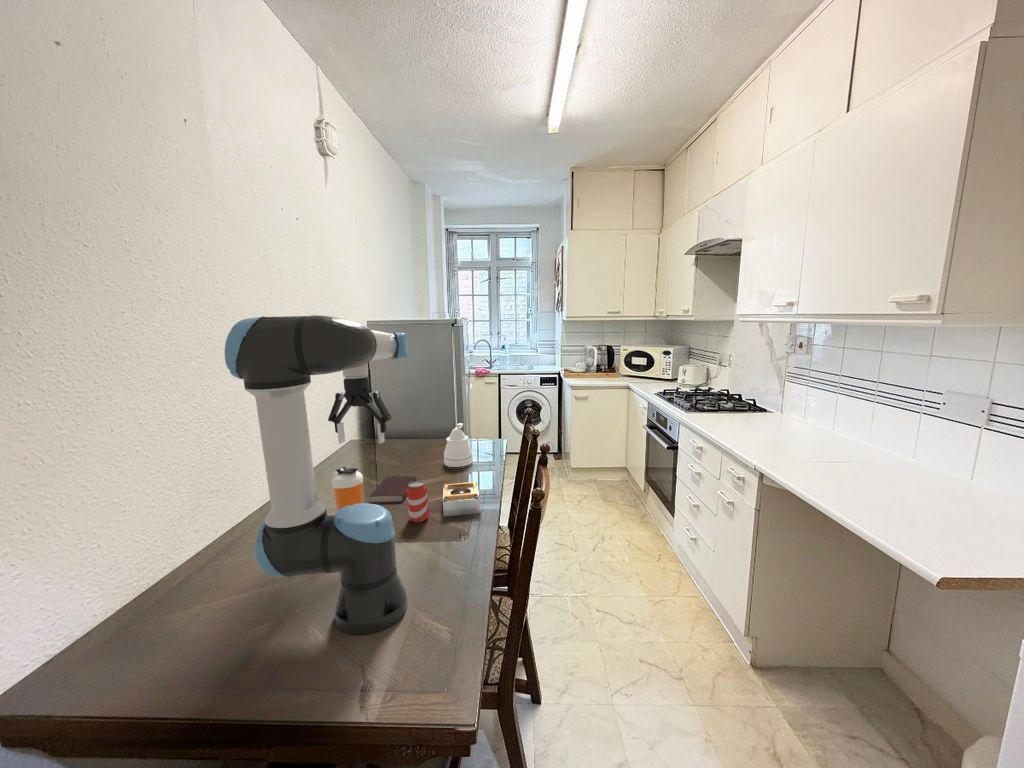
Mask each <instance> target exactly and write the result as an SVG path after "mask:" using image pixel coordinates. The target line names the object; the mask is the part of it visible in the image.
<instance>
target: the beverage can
mask: <svg viewBox="0 0 1024 768" xmlns="http://www.w3.org/2000/svg"><path fill="white" fill-rule="evenodd" d="M406 498H407V501H406V502H407V511H408V512H407V513H408V519H409V521H411V522H413V523H422V522H424V521H425V520H427V519H428V518H429V515H430V513H429V501H428V500H429V499H428V488H427V486H426V483H425V481H422V480H416V481H414V482H411V483H409V484H408V488H407V496H406Z"/></svg>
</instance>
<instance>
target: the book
mask: <svg viewBox="0 0 1024 768" xmlns="http://www.w3.org/2000/svg"><path fill="white" fill-rule="evenodd" d="M414 481H417V476H415V475H414V476H411V475H409V476H408V475H396V476H395V475H392V476H391V475H390V476H389V475H388V476H385V478H384V479H383V480H382V481H381V482H380V483H379V484H378V486H377V487H376V488H375V489H374V491H372V492H371V494H369V496H368V498H369V497H370V500H369V503H370V504H372V503H394V502H396V503H398V502H401V503H402V502H404V500H405V499H406V498H407V488H408V484H409V483H411V482H414Z"/></svg>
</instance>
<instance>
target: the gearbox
mask: <svg viewBox="0 0 1024 768" xmlns="http://www.w3.org/2000/svg"><path fill="white" fill-rule="evenodd" d="M442 488H443V491H442V492H443V493H442V509H443V517H453V516H462V515H463V516H464V515H473V514H475V515H476V514H481V504H480V503H481V501H480V493H479V488H478V483H477V481H469V482H459V483H458V482H456V483H445V484H444V485H443V487H442Z"/></svg>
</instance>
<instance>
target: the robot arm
mask: <svg viewBox="0 0 1024 768" xmlns="http://www.w3.org/2000/svg"><path fill="white" fill-rule="evenodd" d="M408 355H409V340H408V335H407V334H406V333H405V332H385V331H384V332H383V331H379V330H374V329H373V330H372V329H370V328H369V327H368V326H367V325H365V324H362V323H360V322H357V321H351V320H348V319H344V318H339V317H333V316H328V315H315V314H314V315H313V314H311V315H293V316H291V315H290V316H289V315H288V316H259V317H251V318H244V319H241V320H239V321H238V322H236V323H234V325H233V326H232V327H231V329H230V331H229V332H228V334H227V337H226V340H225V344H224V360H225V365H226V368H227V369H228V370H229V373H230V374H231V375H232V376H233V377H235V378H237V379H239V380H243V385H244V390H245V391H246V392H248V393H249V394H251V395H253V397H254V398H255V403H256V405H255V406H256V411H257V418H258V424H259V425H258V426H259V431H260V432H259V433H260V437H261V438H260V439H261V445H262V453H263V459H264V460H263V461H264V465H265V472H266V474H265V475H266V479H267V487H268V492H269V493H268V494H269V499H270V500H269V501H270V506H271V510H270V511H269V512H268V513H267V515H265V517H264V522H263V523H262V524H261V525H260V526H259V529H258V530H257V533H256V537H255V539H256V543H254V553H255V554H254V555H255V558H256V562H257V564H258V566H259V568H260V570H261V571H262V572H263V573H265V574H266V575H268V576H271V577H285V578H292V577H294V576H306V575H307V576H308V575H320V574H321V575H322V574H333V573H336V574H337V573H338V574H339V576H340V577H339V578H340V579H339V580H340V589H339V591H338V595H337V600H336V603H335V608H334V617H335V619H334V620H335V624H336V627H337V628H338V629H339V630H340V631H342V632H343V633H346V634H349V635H353V636H354V635H356V636H361V635H363V636H364V635H369V634H374V633H377V632H380V631H383V630H385V629H387V628H389V627H390V626H393V625H394V624H395V623H397V622H398V621H399V620H400V619H401V618H403V616H404V614H405V612H406V610H407V609H408V594H407V590H406V588H405V586H404V584H403V582H402V579H401V577H400V576H399V573H398V568H397V556H396V542H395V534H396V532H395V527H394V523H393V517H392V514H391V512H390V511H389V510H388V509H386V507H384V506H382V505H378V504H374V503H365V502H363V503H358V504H353V505H352V506H350V505H348V506H345V507H343V508H341V509H339V510H338V511H337V510H336V512H335V513H334V515H331V514H330V515H328V513H327V512H328V511H327V505H326V503H325V502H323V501H321V500H320V499H318V495H317V486H316V480H315V470H314V462H313V455H312V447H311V440H310V439H311V438H310V437H311V436H310V430H309V421H308V415H307V414H308V413H307V407H306V399H305V390H306V389H307V388H308V387H309V386H310V384H311V383H312V380H311V376H317V375H319V376H320V375H327V374H334V373H338V372H342V377H344V378H343V389H344V392H342V391H339V392H336V393H335V394H334V395H335V396H334V403H333V405H332V408H331V410H330V414H329V416H328V418H327V421H328V422H331V423H333V424H334V431H335V433H336V434H337V438H338V444H342V443H345V442H346V434H345V433H346V432H345V425H344V424H345V423H344V421H343V419H344V417H345V416H346V414H347V413H348V411H350V409H351V408H353V407H355V408H356V407H361V408H362V407H364V408H365V409H367V410H368V411H369V412H370V414H372V416H373V417H374V418H375V419H376V420H377V424H376V425H377V437H378V438H377V439H378V440H377V441H378V445H379V444H380V445H381V444H383V443H385V440H386V439H385V433H386V432H387V422H388V421H390V420H391V419H392V416H391V414H390V411H388V408H387V407H386V405H385V404H384V401H383V400H382V398H381V393H380V391H377V390H376V391H374V392H371V391H370V378H369V376H368V375H369V367H368V363H370V362H371V361H378V360H379V361H380V360H399V359H404V358H405V359H406V358H407V357H408ZM370 398H371V399H372V400H373V402H374V403H375V405H376V406H375V405H374V404H373V402H372V401H371V399H370ZM344 399H345V400H346V402H345V403H344V405H343V407H342V406H341V405H342V402H343V400H344ZM340 407H342V408H341V410H340ZM339 410H340V411H339Z"/></svg>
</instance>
